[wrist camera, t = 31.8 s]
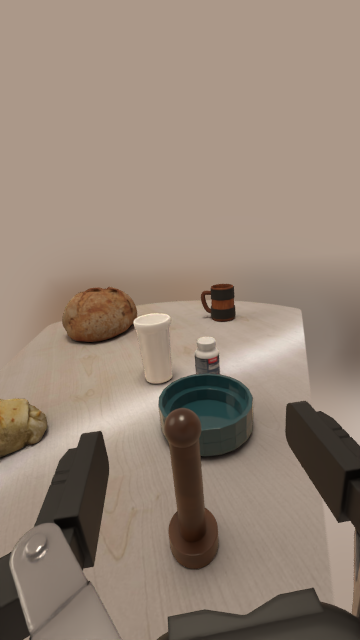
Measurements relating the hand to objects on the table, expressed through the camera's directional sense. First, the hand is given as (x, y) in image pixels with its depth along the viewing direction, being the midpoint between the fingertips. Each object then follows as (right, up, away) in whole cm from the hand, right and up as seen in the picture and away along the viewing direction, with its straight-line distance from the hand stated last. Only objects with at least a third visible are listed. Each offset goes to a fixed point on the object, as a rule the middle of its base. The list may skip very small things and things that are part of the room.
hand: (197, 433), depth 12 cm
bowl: (+4, -13, +35) cm, 38 cm away
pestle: (+1, -19, +18) cm, 26 cm away
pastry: (-31, -16, +36) cm, 50 cm away
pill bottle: (+6, -8, +50) cm, 51 cm away
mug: (+13, +5, +88) cm, 89 cm away
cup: (-5, -9, +51) cm, 52 cm away
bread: (-28, +1, +87) cm, 91 cm away
